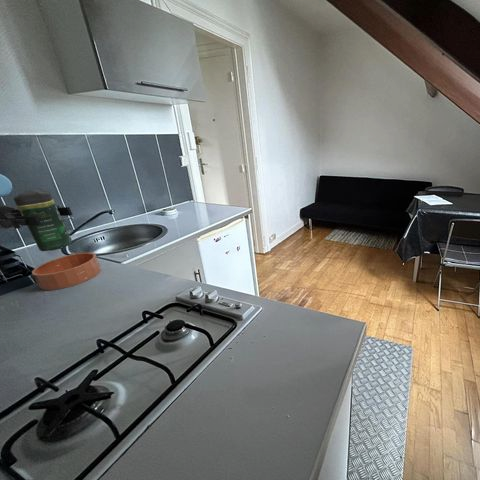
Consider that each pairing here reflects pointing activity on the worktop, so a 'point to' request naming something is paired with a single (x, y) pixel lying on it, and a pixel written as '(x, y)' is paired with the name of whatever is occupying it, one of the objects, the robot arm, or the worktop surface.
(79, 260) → the bowl
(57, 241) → the coffee jar
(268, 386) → the worktop surface
